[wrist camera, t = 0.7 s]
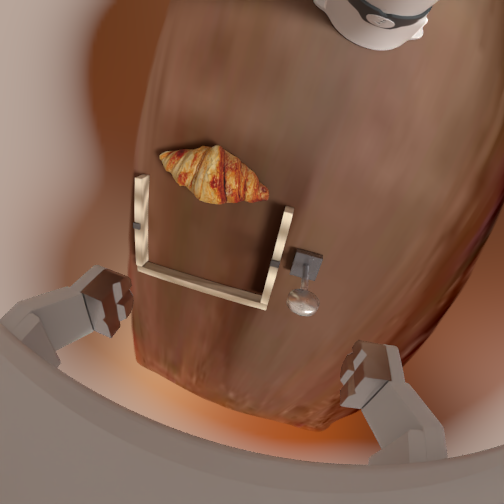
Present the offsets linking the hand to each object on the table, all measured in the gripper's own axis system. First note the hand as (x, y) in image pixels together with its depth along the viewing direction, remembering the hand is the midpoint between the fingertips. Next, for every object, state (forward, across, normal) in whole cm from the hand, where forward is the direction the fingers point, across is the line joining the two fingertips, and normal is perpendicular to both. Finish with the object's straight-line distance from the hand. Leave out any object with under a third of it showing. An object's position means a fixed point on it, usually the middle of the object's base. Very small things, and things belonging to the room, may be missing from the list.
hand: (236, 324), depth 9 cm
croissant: (+40, +14, +6) cm, 42 cm away
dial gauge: (+39, -6, +20) cm, 44 cm away
